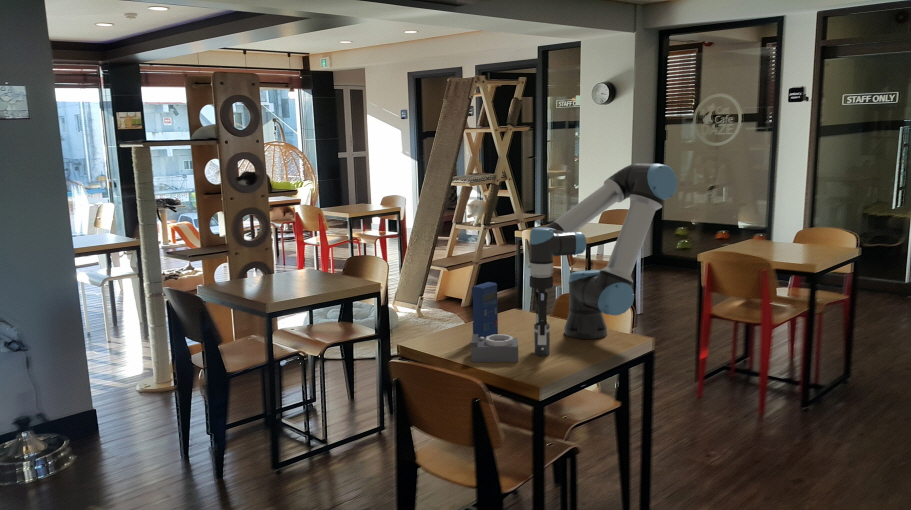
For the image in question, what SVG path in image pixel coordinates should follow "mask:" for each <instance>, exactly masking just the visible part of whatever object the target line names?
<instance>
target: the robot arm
mask: <svg viewBox="0 0 911 510" xmlns="http://www.w3.org/2000/svg"><path fill="white" fill-rule="evenodd" d="M677 189H678V178H677V176H676V173H675V171H674V170H673V168H671V167H670V166H669V165H666V164H663V163H662V164H661V163H633V164H629V165H627V166H625V167H623V168H621V169H620V170H618V171H617V172H615V173H613V174H612V175H610V176H609V177H608V178H606V179H605V180H604V181H603V185H602V186H600V187H599V188H598V189H596V190H595V191H593V192H591V194H589V195H588V196H587V197H585V198H584V199H582V200H581V201H580V202H578V203H577V204H575V205H574V206H573V207H572V208H570V209H569V210H568V211H567V210H566V212H565V213H563V214H562V215H560V216H559V217H558V218H556V219H555V220H554V221H552V222H550V223H549V224H548V225H547V226H540V227H533V228H532V229H531V230H530V232H529V242H528V243H529V264H528V265H527V269H529V275H530V276H529V287H530V288H531V289H535V292H534V297H535V299H534V300H535V324H536V325H538V345H546V331H547V323H548V320H547V317H548V316H547V315H548V314H547V307H548V297H549V296H548V292H547V291H546V290H548V289H551V288H553V286H554V277H553V275H554V257H560V256H561V257H563V256H577V255H580V254H584V252H585V251H586V248H587V239H586V235H585V234H584V233H583V232H581V231H579V230H580V229H582V228H583V227H585V226H586V225H587V224H589V223H590V222H592V221H593V220H594V219H595V218H597V217H598V216H600V215H601V214H602V213H604V211H606V210H608V209H609V208H611V206H613V205H614V204H616V203H622V202H623V201H625V200H626V199H629V200H630V205H629V208H628V210H627V213H626V215H625V217H624V221H623V224H622V226H621V229H620V231H619V234H618V236H617V239H616V240H615V244H614V246H613V249H612V251H611V253H610V254H611V255H610V256H609V260H608V261H607V263H606V264H607V265H606V266H605V267H603V268H602V269H600V270H599V269H596V270H595V269H593V270H592V269H590V270H580V271H573V272H571V273H569V276H568V277H569V278H568V299H569V300H568V301H569V302H568V305H569V306H568V309H569V312H568V315H567V318H566V321H565V324H564V331H563V332H564V334H565V336H567V337H569V338H573V339H579V340H580V339H582V340H594V339H600V338H603V337H606V336H608V327H607V324H606V321H605V318H604V316H603V314H605V315H608V316H609V315H610V316H615V317H617V316H621V315H623V314H625V313H626V312H627V311H628V310H630V309H631V307H632V305H633V304H634V299H635V294H634V289H633V288H632V286H633V284H634V280H633V278H632V277H631V276H632V273H633V271H634V268H635V265H636V263H637V260H638V257H639V255H640V252H641V251H642V250H641V249H642V246H643V245H644V242H645V239H646V237H647V234H648V231H649V229H650V227H651V223H652V222H653V218H654V216H655V214H656V211H658V210H660V209H661V208H663V206H664V203H665V201H666V200H669V199H670V198H673V196H674V195H675V193H676V191H677Z"/></svg>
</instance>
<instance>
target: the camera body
mask: <svg viewBox="0 0 911 510" xmlns="http://www.w3.org/2000/svg"><path fill="white" fill-rule="evenodd" d="M518 339H519V338H518V337H513V336H512V335H509V334H504V333H503V334H501V333H500V334H499V333H498V334H494V335H490V336H487V337H486V338H484V337H480V338H478V334H473V333H472V335H471V342H470V346H471V348H470V351H471V353H470V354H471V363H515V362H517V363H518V362H519V340H518Z"/></svg>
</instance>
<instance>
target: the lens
mask: <svg viewBox="0 0 911 510" xmlns="http://www.w3.org/2000/svg"><path fill="white" fill-rule="evenodd" d="M533 327H534V328H533V333H534V335H533V337H534V339H533V340H534V341H533V343H534V356H536V357H548V356H550V353H551V349H550V346H551V345H550V342H551V339H550V336H551V334H550V333H551V332H550V331H551V327H550V324H549V323H548V322H547V331H546V345H538V325H536V323H534V325H533Z"/></svg>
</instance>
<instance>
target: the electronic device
mask: <svg viewBox="0 0 911 510" xmlns="http://www.w3.org/2000/svg"><path fill="white" fill-rule="evenodd" d="M471 295H472V316H473V318H472V321H473V322H472V334H478V338H480V337H484V338H486V337H487V336H490V335H494V334H499V321H498V320H499V319H498V318H499V317H498V284H497V283H496V282H491V281H487V282H484V283H480V284H477V285H474V286H472V287H471Z"/></svg>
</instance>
